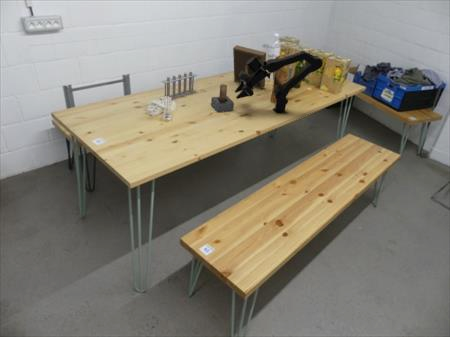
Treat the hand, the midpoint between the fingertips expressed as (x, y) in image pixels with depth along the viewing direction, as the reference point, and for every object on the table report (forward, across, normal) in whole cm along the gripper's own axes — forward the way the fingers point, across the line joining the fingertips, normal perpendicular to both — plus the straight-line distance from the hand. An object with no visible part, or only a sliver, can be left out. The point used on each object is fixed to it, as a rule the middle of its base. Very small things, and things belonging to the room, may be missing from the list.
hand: (235, 95), depth 207 cm
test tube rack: (+29, -16, -17) cm, 37 cm away
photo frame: (-1, -38, +14) cm, 41 cm away
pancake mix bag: (-14, -19, +27) cm, 36 cm away
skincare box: (-19, -37, +31) cm, 52 cm away
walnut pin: (+11, 0, 0) cm, 11 cm away
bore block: (+11, 0, +1) cm, 11 cm away
